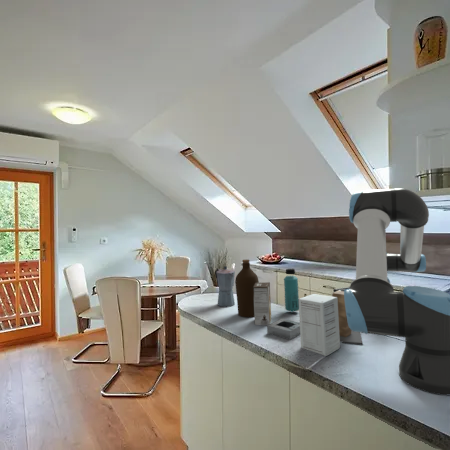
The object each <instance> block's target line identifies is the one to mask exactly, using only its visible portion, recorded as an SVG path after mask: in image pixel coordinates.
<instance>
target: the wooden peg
mask: <svg viewBox="0 0 450 450" xmlns="http://www.w3.org/2000/svg"><path fill="white" fill-rule="evenodd" d="M332 294H333V297H337V299H338V317H339V335H340V336H343V337H347V336H349V335H350V334H351V329H350V328H349V326H348V322H347V316H346V309H345V300H344V291H336V292H334V291H333V292H332V293H331V295H332Z"/></svg>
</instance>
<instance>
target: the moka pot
mask: <svg viewBox="0 0 450 450" xmlns="http://www.w3.org/2000/svg"><path fill="white" fill-rule="evenodd" d="M223 268H224V269H220V268H218V267H217V268H216V270H215V272H214V274H215V275H214V276H215V280H216V284H217V285H216V286H218V296H217V306H219V307H222V306H230V307H233V306H235V304H236V303H235V297H234V291H233V289H234V284H235V275H236V272H235V270H233V269H227V268H228V267H227V266H226V265H225V266H223ZM232 305H233V306H232Z"/></svg>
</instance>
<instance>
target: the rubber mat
mask: <svg viewBox="0 0 450 450" xmlns="http://www.w3.org/2000/svg"><path fill="white" fill-rule="evenodd" d="M361 333H362V332H355V331H352V330H351V334H350V335H349V336H347V337H343V336H340V343H341V344H349V345H360V344H361V345H363V339H362V334H361Z"/></svg>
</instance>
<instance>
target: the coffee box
mask: <svg viewBox="0 0 450 450" xmlns="http://www.w3.org/2000/svg"><path fill="white" fill-rule="evenodd" d="M253 295H254V316H255V317H254V325H255V326H267V325H269V324H271V322H272V302H271V283H270V282H269V281H268V282H259V283H255V285H254V287H253Z"/></svg>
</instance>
